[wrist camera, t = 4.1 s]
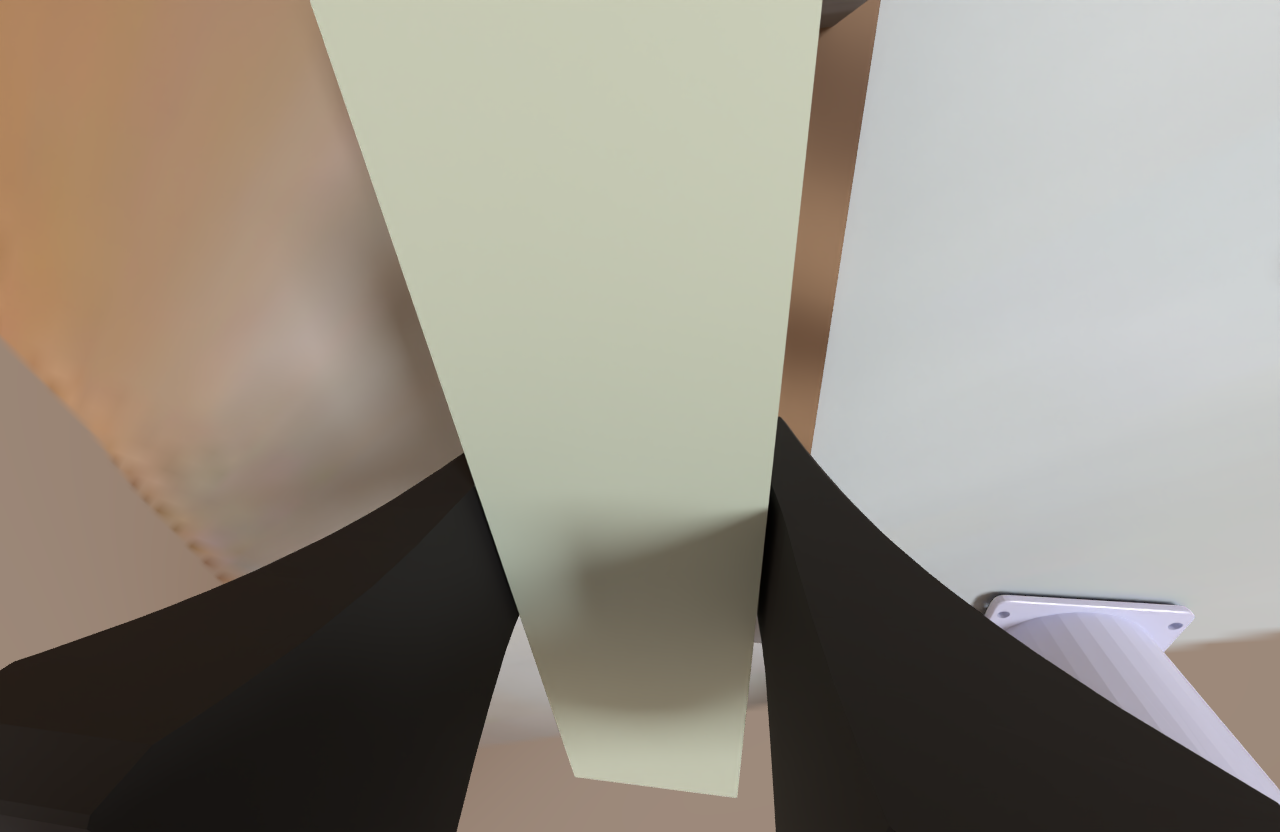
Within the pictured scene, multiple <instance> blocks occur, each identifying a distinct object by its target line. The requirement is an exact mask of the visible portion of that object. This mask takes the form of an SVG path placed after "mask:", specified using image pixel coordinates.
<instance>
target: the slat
mask: <svg viewBox="0 0 1280 832" xmlns="http://www.w3.org/2000/svg"><path fill="white" fill-rule="evenodd" d="M310 2H311V5H312V8H313V11H314V14H315V17H316V20H317V23H318V26H319V29H320V32H321V35H322V38H323V41H324V43H325V46H326V49H327V52H328V55H329V58H330V61H331V64H332V67H333V70H334V73H335V76H336V79H337V82H338V85H339V87H340V90H341V93H342V96H343V99H344V102H345V105H346V108H347V111H348V114H349V117H350V120H351V123H352V126H353V128H354V131H355V134H356V137H357V140H358V143H359V146H360V149H361V152H362V155H363V158H364V161H365V164H366V167H367V169H368V172H369V175H370V178H371V181H372V184H373V187H374V190H375V193H376V196H377V199H378V202H379V205H380V208H381V210H382V213H383V216H384V219H385V222H386V225H387V228H388V231H389V234H390V237H391V240H392V243H393V246H394V249H395V251H396V254H397V257H398V260H399V263H400V266H401V269H402V272H403V275H404V278H405V281H406V284H407V287H408V290H409V292H410V295H411V298H412V301H413V304H414V307H415V310H416V313H417V316H418V319H419V322H420V325H421V328H422V331H423V334H424V336H425V339H426V342H427V345H428V348H429V351H430V354H431V357H432V360H433V363H434V366H435V369H436V372H437V375H438V377H439V380H440V383H441V386H442V389H443V392H444V395H445V398H446V401H447V404H448V407H449V410H450V413H451V416H452V418H453V421H454V424H455V427H456V430H457V433H458V436H459V439H460V442H461V445H462V448H463V451H464V454H465V457H466V459H467V462H468V465H469V468H470V471H471V474H472V477H473V480H474V483H475V486H476V489H477V492H478V495H479V498H480V500H481V503H482V506H483V509H484V512H485V515H486V518H487V521H488V524H489V527H490V530H491V533H492V536H493V539H494V541H495V544H496V547H497V550H498V553H499V556H500V559H501V562H502V565H503V568H504V571H505V574H506V577H507V580H508V583H509V585H510V588H511V591H512V594H513V597H514V600H515V603H516V606H517V609H518V612H519V615H520V618H521V621H522V624H523V626H524V629H525V632H526V635H527V638H528V641H529V644H530V647H531V650H532V653H533V656H534V659H535V662H536V665H537V667H538V670H539V673H540V676H541V679H542V682H543V685H544V688H545V691H546V694H547V697H548V700H549V703H550V706H551V708H552V711H553V714H554V717H555V720H556V723H557V726H558V729H559V732H560V735H561V738H562V741H563V743H564V746H565V749H566V752H567V755H568V758H569V761H570V764H571V767H572V770H573V773H574V776H575V777H579V778H587V779H595V780H603V781H611V782H618V783H626V784H634V785H642V786H649V787H657V788H664V789H672V790H680V791H687V792H695V793H703V794H710V795H718V796H726V797H735V798H737V793H738V783H739V774H740V765H741V756H742V747H743V737H744V728H745V719H746V709H747V700H748V691H749V681H750V672H751V663H752V653H753V644H754V635H755V625H756V616H757V607H758V597H759V588H760V579H761V569H762V560H763V551H764V541H765V532H766V523H767V513H768V504H769V495H770V485H771V476H772V467H773V457H774V448H775V439H776V429H777V420H778V411H779V401H780V392H781V383H782V373H783V364H784V355H785V345H786V336H787V327H788V317H789V308H790V299H791V289H792V280H793V271H794V261H795V252H796V243H797V233H798V224H799V215H800V205H801V196H802V187H803V177H804V168H805V159H806V149H807V140H808V131H809V121H810V112H811V103H812V93H813V84H814V75H815V65H816V56H817V47H818V37H819V28H820V19H821V9H822V0H310Z"/></svg>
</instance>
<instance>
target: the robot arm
mask: <svg viewBox="0 0 1280 832" xmlns="http://www.w3.org/2000/svg"><path fill="white" fill-rule="evenodd" d="M518 617H519V612H518V609H517V606H516V603H515V600H514V597H513V594H512V591H511V588H510V585H509V583H508V580H507V577H506V574H505V571H504V568H503V565H502V562H501V559H500V556H499V553H498V550H497V547H496V544H495V541H494V539H493V536H492V533H491V530H490V527H489V524H488V521H487V518H486V515H485V512H484V509H483V506H482V503H481V500H480V498H479V495H478V492H477V489H476V486H475V483H474V480H473V477H472V474H471V471H470V468H469V465H468V462H467V459H466V457H465V454H464V453H463V454H461V455H460V456H458V457H457V458H455V459H454V460H453V461H451V462H450V463H448V464H447V465H445V466H444V467H443V468H441V469H440V470H438V471H436V472H435V473H433V474H432V475H430V476H429V477H427V478H426V479H424V480H423V481H421V482H419V483H418V484H416V485H415V486H413V487H412V488H410V489H409V490H407V491H406V492H404V493H403V494H401V495H399V496H398V497H396V498H395V499H393V500H391V501H390V502H388V503H386V504H385V505H383V506H381V507H380V508H378V509H376V510H374V511H373V512H371V513H369V514H368V515H366V516H364V517H362V518H360V519H358V520H357V521H355V522H353V523H351V524H349V525H347V526H346V527H344V528H342V529H340V530H338V531H336V532H335V533H333V534H331V535H329V536H327V537H325V538H323V539H321V540H319V541H317V542H315V543H312V544H310V545H308V546H306V547H304V548H302V549H300V550H298V551H296V552H294V553H292V554H289V555H287V556H285V557H283V558H281V559H279V560H277V561H275V562H273V563H271V564H268V565H266V566H264V567H262V568H260V569H258V570H256V571H253V572H251V573H249V574H247V575H244V576H242V577H240V578H237V579H235V580H233V581H230V582H228V583H226V584H223V585H221V586H219V587H216V588H214V589H211V590H209V591H207V592H204V593H202V594H199V595H197V596H194V597H192V598H189V599H187V600H184V601H182V602H179V603H177V604H174V605H172V606H169V607H167V608H164V609H161V610H159V611H156V612H153V613H151V614H148V615H146V616H143V617H140V618H138V619H135V620H132V621H129V622H127V623H124V624H121V625H118V626H115V627H113V628H110V629H107V630H104V631H101V632H98V633H96V634H93V635H90V636H87V637H84V638H81V639H79V640H76V641H73V642H70V643H68V644H65V645H62V646H59V647H56V648H53V649H50V650H48V651H45V652H42V653H39V654H36V655H33V656H30V657H27V658H24V659H21V660H18V661H15V662H13V663H11V664H9V665H8V666H6V667H5V668H3V669H2V670H0V832H456V831H457V827H458V823H459V819H460V815H461V811H462V808H463V804H464V800H465V795H466V792H467V788H468V784H469V780H470V775H471V772H472V768H473V763H474V760H475V756H476V752H477V749H478V745H479V741H480V738H481V734H482V731H483V727H484V723H485V720H486V716H487V712H488V709H489V705H490V702H491V698H492V695H493V691H494V688H495V685H496V681H497V678H498V675H499V671H500V668H501V665H502V661H503V658H504V655H505V651H506V648H507V646H508V643H509V640H510V637H511V635H512V632H513V629H514V626H515V624H516V622H517V619H518ZM757 618H758V624H759V630H760V636H761V642H762V648H763V657H764V665H765V673H766V687H767V701H768V714H769V728H770V744H771V758H772V773H773V774H772V775H773V790H774V806H775V824H776V832H1280V790H1279V789H1278V788H1277V786H1276V785H1275V784H1274V783H1273V782H1272V780H1271V779H1270V778H1269V777H1268V776H1267V775H1266V773H1265V772H1264V771H1263V770H1262V769H1261V768H1260V766H1259V765H1258V764H1257V763H1256V761H1255V760H1254V759H1253V758H1252V757H1251V755H1250V754H1249V753H1248V752H1247V751H1246V750H1245V748H1244V747H1243V746H1242V745H1241V744H1240V743H1239V741H1238V740H1237V739H1236V738H1235V737H1234V735H1233V734H1232V733H1231V732H1230V730H1229V729H1228V728H1227V727H1226V726H1225V725H1224V723H1223V722H1222V721H1221V720H1220V719H1219V718H1218V716H1217V715H1216V714H1215V713H1214V712H1213V710H1212V709H1211V708H1210V707H1209V706H1208V704H1207V703H1206V702H1205V701H1204V700H1203V698H1202V697H1201V696H1200V695H1199V694H1198V692H1197V691H1196V690H1195V689H1194V688H1193V686H1192V685H1191V684H1190V683H1189V682H1188V680H1187V679H1186V678H1185V677H1184V676H1183V675H1182V673H1181V672H1180V671H1179V670H1178V669H1177V667H1176V666H1175V665H1174V664H1173V663H1172V661H1171V660H1170V659H1169V658H1168V657H1167V655H1166V654H1165V653H1164V651H1165V650H1166V649H1167V648H1168V647H1169V646H1170V645H1171V644H1172V643H1173V641H1174V640H1175V639H1176V638H1177V637H1178V636H1179V635H1180V634H1181V633H1182V632H1183V631H1184V630H1185V628H1186V627H1187V626H1188V625H1189V624H1190V623H1191V622H1192V621H1193V619H1194V618H1195V616H1194V614H1193V613H1192V612H1191V611H1190V610H1189V608H1187V607H1185V606H1180V605H1166V604H1149V603H1133V602H1116V601H1100V600H1083V599H1067V598H1051V597H1034V596H1018V595H1000V596H997V597H995V598H994V599H993V600H992V601H991V603H990V605H989V607H988V609H987V611H986V613H985V615H983V614H982V613H980V612H979V611H978V610H976V609H975V608H974V607H972V606H971V605H970V604H968V603H967V602H966V601H964V600H963V599H962V598H960V597H959V596H957V595H956V594H955V593H953V592H952V591H951V590H949V589H948V588H947V587H946V586H944V585H943V584H942V583H941V582H939V581H938V580H937V579H936V578H934V577H933V576H932V575H931V574H929V573H928V572H927V571H926V570H925V569H923V568H922V567H921V566H920V565H919V564H918V563H916V562H915V561H914V560H913V559H912V558H911V557H909V556H908V555H907V554H906V553H905V552H904V551H902V550H901V549H900V548H899V547H898V546H897V545H895V544H894V543H893V542H892V541H891V540H890V539H889V538H888V537H886V536H885V535H884V534H883V533H882V532H881V531H880V530H879V529H878V528H877V527H876V526H875V525H874V524H873V523H872V522H871V521H870V520H869V519H868V518H867V517H866V516H865V515H864V514H863V513H862V512H861V511H860V510H859V509H858V508H857V507H856V506H855V505H854V504H853V503H852V502H851V501H850V500H849V499H848V498H847V496H846V495H845V494H844V493H843V492H842V491H841V490H840V489H839V488H838V487H837V485H836V484H835V483H834V482H833V481H832V480H831V479H830V477H829V476H828V475H827V474H826V473H825V472H824V471H823V469H822V468H821V467H820V466H819V465H818V464H817V462H816V461H815V460H814V459H813V457H812V456H811V455H810V454H809V452H808V451H807V450H806V449H805V447H804V446H803V445H802V444H801V442H800V441H799V440H798V438H797V437H796V436H795V434H794V433H793V432H792V430H791V429H790V427H789V426H788V425H787V423H786V422H785V421H784V420H783V419H782V418H781V417H778V420H777V429H776V439H775V448H774V457H773V467H772V476H771V485H770V495H769V504H768V513H767V523H766V532H765V541H764V551H763V560H762V569H761V579H760V588H759V597H758V607H757Z"/></svg>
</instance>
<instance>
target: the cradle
mask: <svg viewBox="0 0 1280 832" xmlns="http://www.w3.org/2000/svg"><path fill="white" fill-rule="evenodd" d="M880 1H881V0H822V9H821V19H820V28H819V37H818V47H817V56H816V65H815V75H814V84H813V93H812V103H811V112H810V121H809V131H808V140H807V149H806V159H805V168H804V177H803V187H802V196H801V205H800V215H799V224H798V233H797V243H796V252H795V261H794V271H793V280H792V289H791V299H790V308H789V317H788V327H787V336H786V345H785V355H784V364H783V373H782V383H781V392H780V401H779V411H778V417H781V418H782V419H783V420H784V421H785V422H786V423H787V425H788V426H789V427H790V429H791V430H792V432H793V433H794V434H795V436H796V437H797V438H798V440H799V441H800V442H801V444H802V445H803V446H804V447H805V449H806V450H807V451H808V452H809V454H811V448H812V441H813V435H814V428H815V422H816V415H817V409H818V402H819V396H820V389H821V383H822V377H823V370H824V364H825V357H826V351H827V344H828V338H829V331H830V325H831V318H832V312H833V305H834V299H835V292H836V286H837V279H838V273H839V266H840V260H841V253H842V247H843V241H844V234H845V228H846V221H847V215H848V208H849V202H850V195H851V189H852V182H853V176H854V169H855V163H856V156H857V150H858V143H859V137H860V130H861V124H862V117H863V111H864V105H865V98H866V92H867V85H868V79H869V72H870V66H871V59H872V53H873V46H874V40H875V33H876V27H877V20H878V14H879V7H880ZM754 643H762V642H761V636H760V630H759V624H758V618H757V616H756V625H755V635H754Z"/></svg>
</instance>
